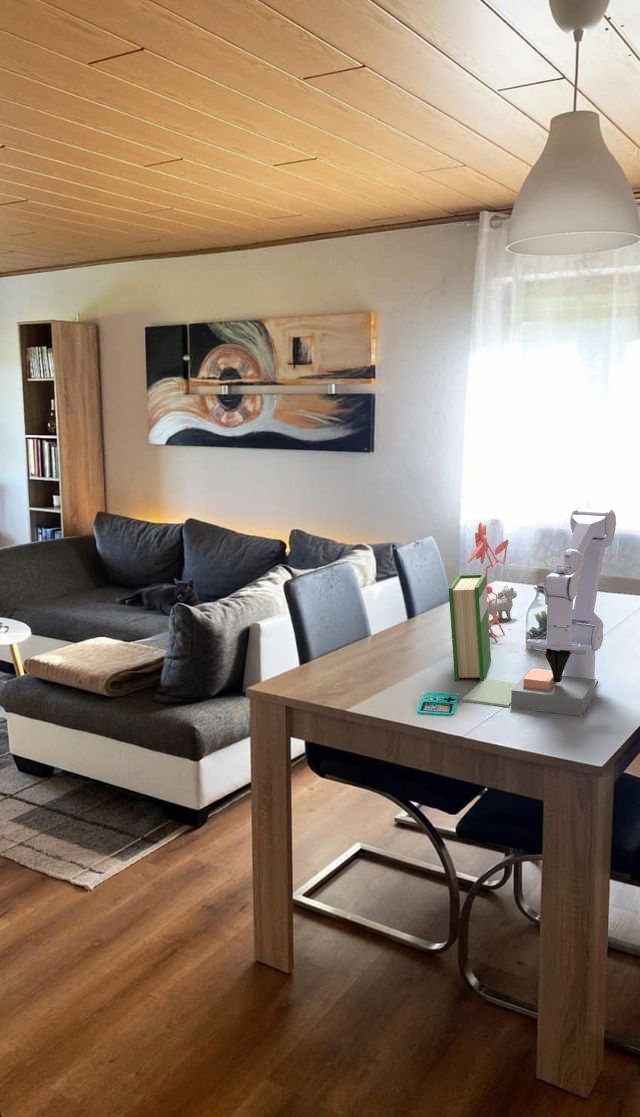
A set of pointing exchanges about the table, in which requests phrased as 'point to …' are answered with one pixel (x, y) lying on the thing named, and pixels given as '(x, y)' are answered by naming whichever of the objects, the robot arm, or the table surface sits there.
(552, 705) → the block
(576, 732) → the table surface
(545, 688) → the terracotta tile
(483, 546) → the figurine
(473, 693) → the sage mat
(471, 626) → the hardback book
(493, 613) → the dog figurine
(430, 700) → the handheld gaming console
